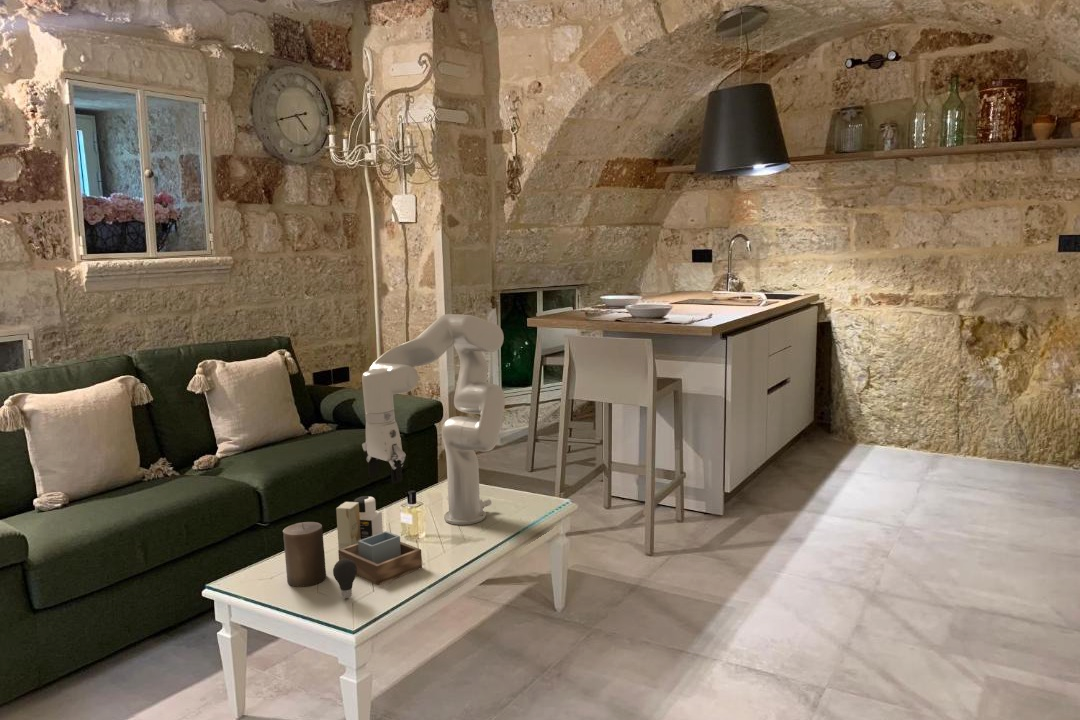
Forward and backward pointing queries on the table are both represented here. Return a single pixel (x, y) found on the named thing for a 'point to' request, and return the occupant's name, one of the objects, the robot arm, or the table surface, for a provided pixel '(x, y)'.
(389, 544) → the grey crate
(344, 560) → the light bulb
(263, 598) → the table surface
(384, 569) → the walnut crate
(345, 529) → the skincare box
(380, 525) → the medicine bottle
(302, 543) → the pillar candle
